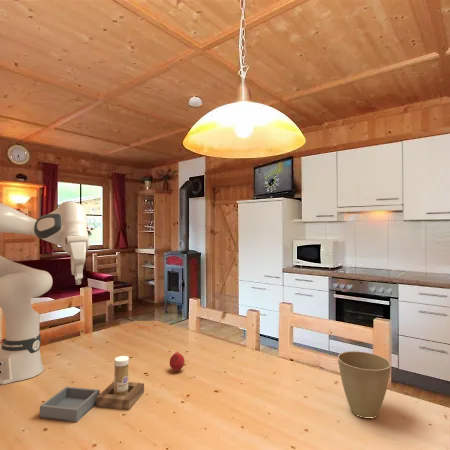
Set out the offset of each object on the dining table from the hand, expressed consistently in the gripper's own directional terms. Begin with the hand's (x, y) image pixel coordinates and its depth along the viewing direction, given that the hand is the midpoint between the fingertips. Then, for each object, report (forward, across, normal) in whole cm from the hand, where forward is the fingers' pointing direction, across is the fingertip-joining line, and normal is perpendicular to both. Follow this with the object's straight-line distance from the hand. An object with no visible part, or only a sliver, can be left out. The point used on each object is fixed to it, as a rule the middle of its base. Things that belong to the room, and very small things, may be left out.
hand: (79, 281), depth 113 cm
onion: (+38, -12, +32) cm, 51 cm away
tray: (+39, -1, -5) cm, 39 cm away
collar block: (+40, 0, +9) cm, 41 cm away
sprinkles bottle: (+41, 0, +9) cm, 42 cm away
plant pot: (+59, +37, +73) cm, 101 cm away
